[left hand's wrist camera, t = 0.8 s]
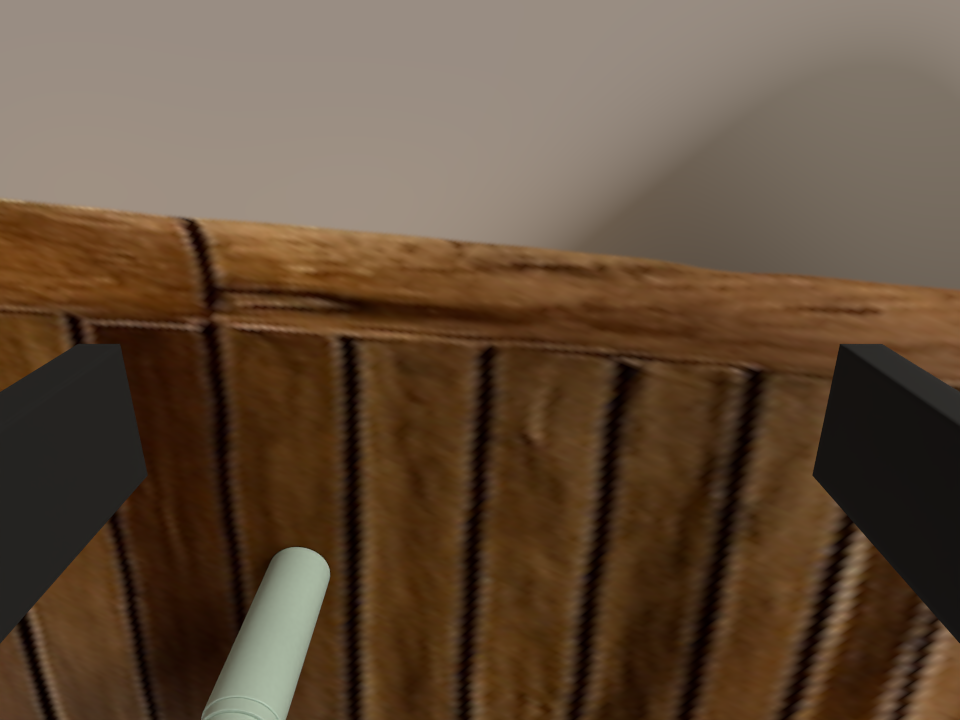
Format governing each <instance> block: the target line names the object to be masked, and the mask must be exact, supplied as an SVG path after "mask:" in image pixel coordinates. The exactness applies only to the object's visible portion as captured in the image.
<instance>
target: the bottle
mask: <svg viewBox="0 0 960 720" xmlns="http://www.w3.org/2000/svg"><path fill="white" fill-rule="evenodd" d="M329 579H330V570H329V566H328V564H327V562H326V561H325V560H324V558H323V557H322V556H320V555H319V554H318V553H316V552H315V551H312V550H310V549H307V548H302V547H291V548H287V549H284V550H282V551H280V552H279V553H277V554H276V555H275V556H274V557H273V559H272V560H271V562H270V564H269V567H268V569H267V571H266V573H265V576H264V578H263V580H262V582H261V584H260V587H259V589H258V591H257V593H256V596H255V598H254V600H253V602H252V604H251V607H250V609H249V611H248V613H247V616H246V618H245V620H244V622H243V625H242V627H241V629H240V631H239V633H238V636H237V638H236V640H235V642H234V645H233V647H232V649H231V651H230V653H229V656H228V658H227V660H226V662H225V665H224V667H223V669H222V671H221V673H220V676H219V678H218V680H217V682H216V685H215V687H214V689H213V691H212V693H211V696H210V698H209V700H208V702H207V705H206V707H205V709H204V711H203V714H202V718H201V720H286V717H287V714H288V711H289V707H290V704H291V701H292V698H293V695H294V691H295V688H296V685H297V682H298V678H299V675H300V672H301V669H302V666H303V662H304V659H305V656H306V653H307V650H308V646H309V643H310V640H311V637H312V634H313V630H314V627H315V624H316V621H317V618H318V614H319V611H320V608H321V605H322V601H323V598H324V595H325V592H326V589H327V585H328V582H329Z"/></svg>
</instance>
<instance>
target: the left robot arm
mask: <svg viewBox="0 0 960 720" xmlns="http://www.w3.org/2000/svg"><path fill="white" fill-rule="evenodd" d="M146 476H147V471H146V466H145V461H144V456H143V451H142V447H141V442H140V437H139V432H138V428H137V423H136V418H135V413H134V409H133V404H132V399H131V394H130V390H129V385H128V380H127V375H126V370H125V366H124V361H123V356H122V351H121V347H120V344H77V345H76V346H74V347H73V348H71V349H69V350H68V351H66V352H64V353H63V354H61V355H60V356H58V357H56V358H55V359H53V360H51V361H50V362H48V363H47V364H45V365H43V366H42V367H40V368H38V369H37V370H35V371H34V372H32V373H30V374H29V375H27V376H26V377H24V378H22V379H21V380H19V381H17V382H16V383H14V384H13V385H11V386H9V387H8V388H6V389H4V390H3V391H1V392H0V643H1V642H2V641H3V640H4V638H5V637H6V636H7V635H8V634H9V633H10V632H11V630H12V629H13V628H14V627H15V626H16V625H17V624H18V622H19V621H20V620H21V619H22V618H23V617H24V616H25V614H26V613H27V612H28V611H29V610H30V609H31V608H32V606H33V605H34V604H35V603H36V602H37V601H38V600H39V599H40V597H41V596H42V595H43V594H44V593H45V592H46V591H47V589H48V588H49V587H50V586H51V585H52V584H53V583H54V581H55V580H56V579H57V578H58V577H59V576H60V575H61V573H62V572H63V571H64V570H65V569H66V568H67V567H68V565H69V564H70V563H71V562H72V561H73V560H74V559H75V557H76V556H77V555H78V554H79V553H80V552H81V551H82V549H83V548H84V547H85V546H86V545H87V544H88V543H89V541H90V540H91V539H92V538H93V537H94V536H95V535H96V533H97V532H98V531H99V530H100V529H101V528H102V527H103V526H104V524H105V523H106V522H107V521H108V520H109V519H110V518H111V516H112V515H113V514H114V513H115V512H116V511H117V510H118V508H119V507H120V506H121V505H122V504H123V503H124V502H125V500H126V499H127V498H128V497H129V496H130V495H131V494H132V492H133V491H134V490H135V489H136V488H137V487H138V486H139V484H140V483H141V482H142V481H143V480H144V479H145V478H146ZM813 476H814V478H815V479H816V480H817V481H818V482H819V483H820V484H821V486H822V487H823V488H824V489H825V490H826V491H827V492H828V494H829V495H830V496H831V497H832V498H833V499H834V500H835V502H836V503H837V504H838V505H839V506H840V507H841V508H842V510H843V511H844V512H845V513H846V514H847V515H848V516H849V518H850V519H851V520H852V521H853V522H854V523H855V524H856V526H857V527H858V528H859V529H860V530H861V531H862V532H863V534H864V535H865V536H866V537H867V538H868V539H869V540H870V541H871V543H872V544H873V545H874V546H875V547H876V548H877V549H878V551H879V552H880V553H881V554H882V555H883V556H884V557H885V559H886V560H887V561H888V562H889V563H890V564H891V565H892V567H893V568H894V569H895V570H896V571H897V572H898V573H899V575H900V576H901V577H902V578H903V579H904V580H905V581H906V583H907V584H908V585H909V586H910V587H911V588H912V589H913V591H914V592H915V593H916V594H917V595H918V596H919V597H920V599H921V600H922V601H923V602H924V603H925V604H926V605H927V607H928V608H929V609H930V610H931V611H932V612H933V613H934V614H935V616H936V617H937V618H938V619H939V620H940V621H941V622H942V624H943V625H944V626H945V627H946V628H947V629H948V630H949V632H950V633H951V634H952V635H953V636H954V637H955V638H956V640H957V641H958V642H959V643H960V392H959V391H957V390H956V389H954V388H952V387H951V386H949V385H947V384H946V383H944V382H943V381H941V380H939V379H938V378H936V377H934V376H933V375H931V374H930V373H928V372H926V371H925V370H923V369H922V368H920V367H918V366H917V365H915V364H913V363H912V362H910V361H909V360H907V359H905V358H904V357H902V356H900V355H899V354H897V353H896V352H894V351H892V350H891V349H889V348H887V347H886V346H884V345H883V344H840V347H839V351H838V356H837V361H836V366H835V370H834V375H833V380H832V385H831V390H830V394H829V399H828V404H827V409H826V413H825V418H824V423H823V428H822V432H821V437H820V442H819V447H818V451H817V456H816V461H815V466H814V470H813Z"/></svg>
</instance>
